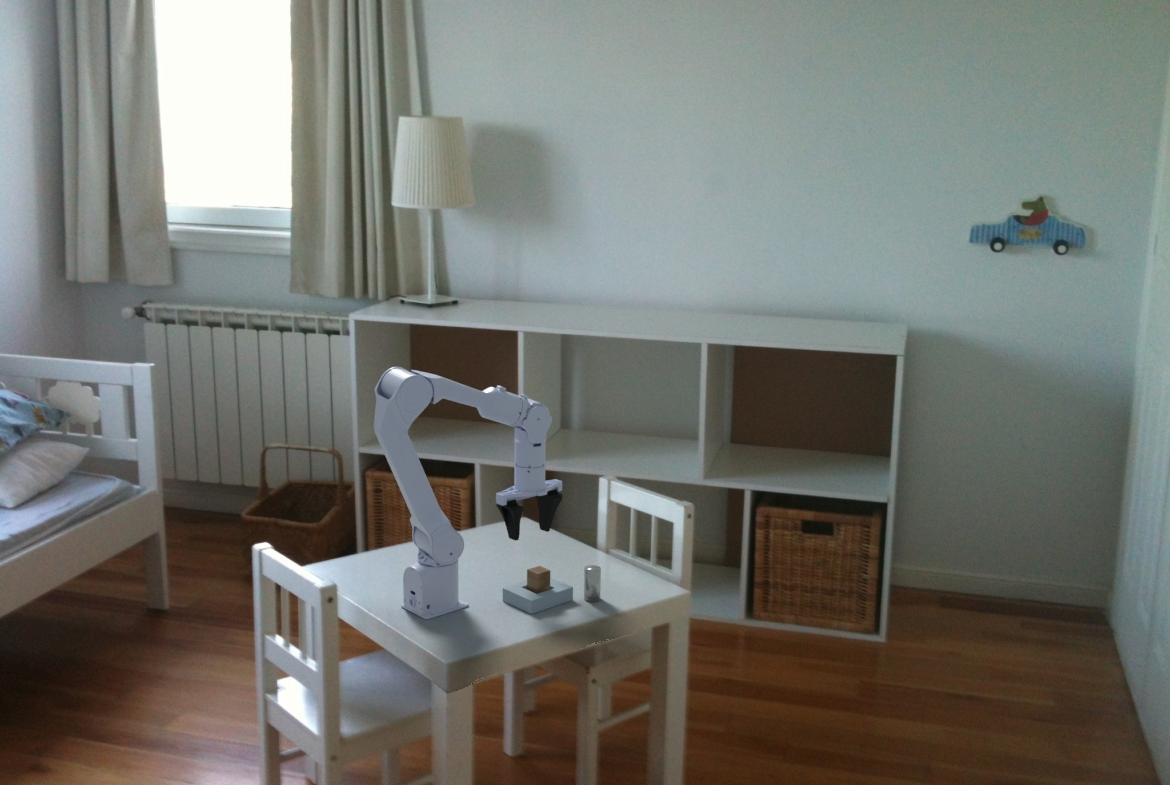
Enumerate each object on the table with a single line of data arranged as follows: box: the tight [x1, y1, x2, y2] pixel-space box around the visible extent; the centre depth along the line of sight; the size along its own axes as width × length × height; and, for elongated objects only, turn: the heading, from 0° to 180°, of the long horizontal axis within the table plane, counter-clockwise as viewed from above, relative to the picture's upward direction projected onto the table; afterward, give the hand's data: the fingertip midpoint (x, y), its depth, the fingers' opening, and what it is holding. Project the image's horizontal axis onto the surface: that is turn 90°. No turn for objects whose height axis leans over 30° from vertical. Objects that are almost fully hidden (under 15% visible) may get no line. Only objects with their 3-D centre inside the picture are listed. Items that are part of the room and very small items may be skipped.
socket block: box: [502, 577, 574, 615], centre depth 207 cm, size 10×8×2 cm
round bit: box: [583, 564, 602, 603], centre depth 208 cm, size 3×3×6 cm
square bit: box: [526, 565, 551, 594], centre depth 206 cm, size 3×3×6 cm
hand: (529, 534), depth 211 cm, fingers open, 7 cm apart
